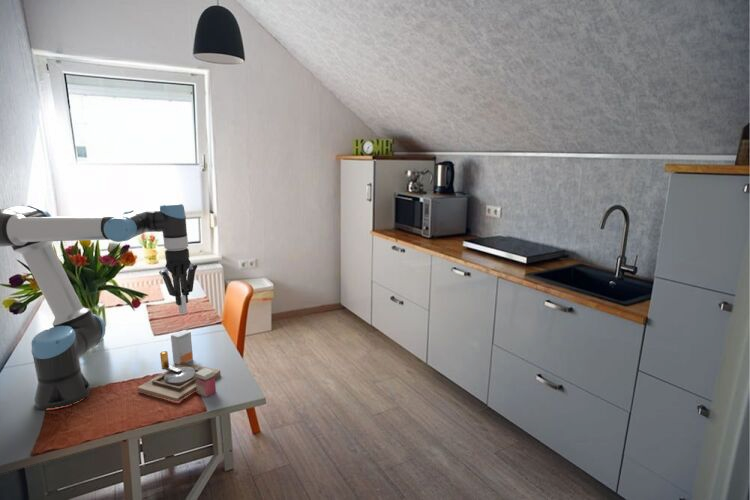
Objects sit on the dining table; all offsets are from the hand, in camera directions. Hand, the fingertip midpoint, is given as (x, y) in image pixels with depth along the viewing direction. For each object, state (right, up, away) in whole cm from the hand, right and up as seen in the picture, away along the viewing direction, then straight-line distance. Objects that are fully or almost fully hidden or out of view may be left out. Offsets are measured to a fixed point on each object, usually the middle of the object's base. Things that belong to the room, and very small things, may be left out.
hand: (183, 312), depth 156 cm
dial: (-2, -23, 0) cm, 23 cm away
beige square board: (0, -25, -1) cm, 25 cm away
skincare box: (-7, -22, +16) cm, 27 cm away
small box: (+11, -27, -6) cm, 30 cm away
